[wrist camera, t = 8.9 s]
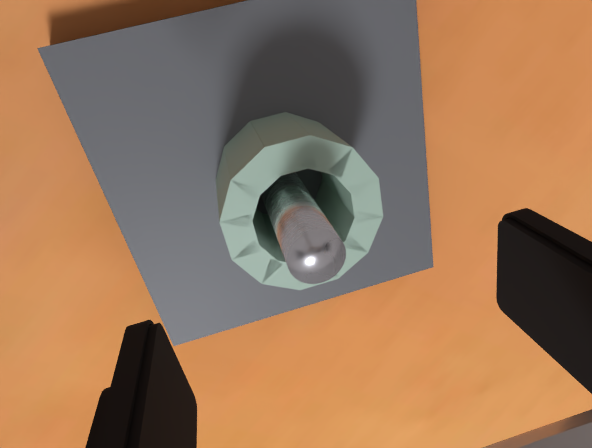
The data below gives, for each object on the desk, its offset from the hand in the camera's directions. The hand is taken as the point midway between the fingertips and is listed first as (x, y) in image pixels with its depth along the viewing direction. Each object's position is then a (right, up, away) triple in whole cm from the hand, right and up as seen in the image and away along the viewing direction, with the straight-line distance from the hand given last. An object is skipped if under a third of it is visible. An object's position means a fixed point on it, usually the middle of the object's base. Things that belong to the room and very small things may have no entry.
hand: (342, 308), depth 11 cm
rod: (-2, +4, +10) cm, 11 cm away
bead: (-2, +5, +10) cm, 11 cm away
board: (-3, +5, +11) cm, 12 cm away
